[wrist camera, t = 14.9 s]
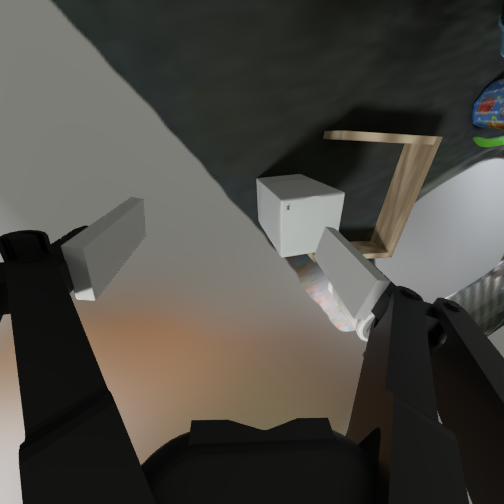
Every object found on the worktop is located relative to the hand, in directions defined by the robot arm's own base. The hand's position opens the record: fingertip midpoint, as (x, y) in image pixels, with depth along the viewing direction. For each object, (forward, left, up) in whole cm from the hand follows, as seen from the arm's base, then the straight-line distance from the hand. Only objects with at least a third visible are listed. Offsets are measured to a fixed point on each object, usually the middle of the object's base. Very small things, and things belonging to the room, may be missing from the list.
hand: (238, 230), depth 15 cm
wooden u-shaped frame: (-11, +27, -26) cm, 39 cm away
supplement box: (-2, +12, -26) cm, 29 cm away
